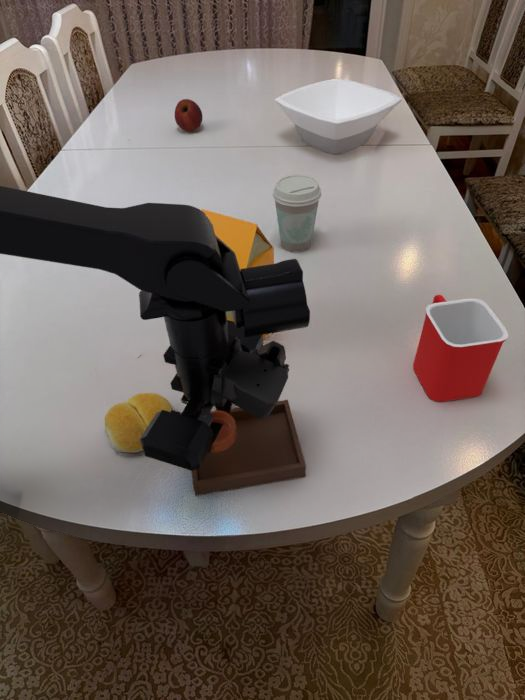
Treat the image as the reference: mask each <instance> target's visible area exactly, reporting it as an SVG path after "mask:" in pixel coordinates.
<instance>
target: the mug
mask: <svg viewBox="0 0 525 700" xmlns="http://www.w3.org/2000/svg"><path fill="white" fill-rule="evenodd" d="M507 329H508V328H506V327H505V325H504V324H503V322H501V320H500V318H498V316H497V314H495V312H494V311H493V310H492V308H491V307H490V305H489V304H488V303H487V302H485V301H484V300H482V299H479V298H473V297H472V298H471V297H470V298H462V299H454V300H448V301H447V300H446V299H445V297H444V296H443V295H442V294H435V295H434V296H433V299H432V303H430V304H427V306H426V307H425V317H424V321H423V325H422V330H421V333H420V337H419V341H418V345H417V348H416V353H415V355H414V360H413V364H412V366H413V371H414V373H415V375H416V377H417V379H418V381H419V382H420V385H421V386H422V388H423V391H424V393H425V394H426V395H427V397H428V398H429V399H430V400H432V401H435V402H448V401H455V400H461V399H462V400H463V399H468V398H475V397H478V396H480V395H482V393H483V391H484V389H485V386H486V384H487V383H488V379H489V377H490V375H491V372H492V370H493V368H494V365H495V363H496V361H497V358H498V356H499V353H500V352H501V349H502V346H503V344H504V342H506V341H507V339H508V337H510V336H509V332H508V330H507Z"/></svg>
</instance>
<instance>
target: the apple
mask: <svg viewBox="0 0 525 700" xmlns="http://www.w3.org/2000/svg"><path fill="white" fill-rule="evenodd" d="M174 121H175V124H176V125H177V126H178V127H179V128H180V129H181V130H182V131H185V132H187V133H188V132H189V133H190V132H194V131H196V130H198V129H199V128H200V127H201V125H202V123H203V112H202V109H201V108H200V106H199V105H198V103H196V102H195V101H193V100H192V99H189V98H183V99H180V100H179V101H178V102H177V104H176V106H175V109H174Z"/></svg>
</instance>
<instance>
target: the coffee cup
mask: <svg viewBox="0 0 525 700" xmlns="http://www.w3.org/2000/svg"><path fill="white" fill-rule="evenodd" d="M321 197H322V189H321V187H320V184H319V181H318V180H317V179H316V178H314V177H313V176H310V175H307V174H289V175H285V176H282V177H280V178H279V179H278V180H277V181H276V182H275V185H274V188H273V190H272V198H273V199H274V205H275V211H276V218H277V225H278V232H279V233H278V234H279V238H280V245H281V247H282V248H283V249H284V250H286V251H289V252H295V253H297V252H304V251H306V250H309V248H311V246H312V242H313V237H314V232H315V225H316V220H317V215H318V214H317V213H318V208H319V201H320V199H321Z"/></svg>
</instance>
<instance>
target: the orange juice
mask: <svg viewBox="0 0 525 700" xmlns="http://www.w3.org/2000/svg"><path fill="white" fill-rule="evenodd" d="M200 210H201V211H203V212H204V213H205V214H206V216H207V217H208V219H209V220H210V222H211V223H212V225H213V228H214V232H215V235H216V236H217V237H218V238H219V239H220V240H221V241H222V242H224V243H225V244H226V245H227V246H228V247H229V248H230V249H231V250H232V251H234V252H235V255H236V258H237V261H238V264H239V268H240V271H241V269H244V268H250V267H257V266H263V265H270V264H275V249H274V248H275V247H274V246H273V245H272V243H271V242H270V241H269V240H268V238H267V237H266V235H265V234H264V233H263V231H262V230H261V229H260V227H259V226H258V224H257V223H255V222H251V221H246V220H243V219H240V218H236V217H232V216H229V215H225V214H221V213H218V212H214V211H211V210H207V209H204V208H201V209H200ZM226 316H227V320H229V321H234V318H233V313H232V311H228V312H226ZM268 335H269V334H264V335H263V341H264V340H265V339H266V338H267V336H268Z"/></svg>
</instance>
